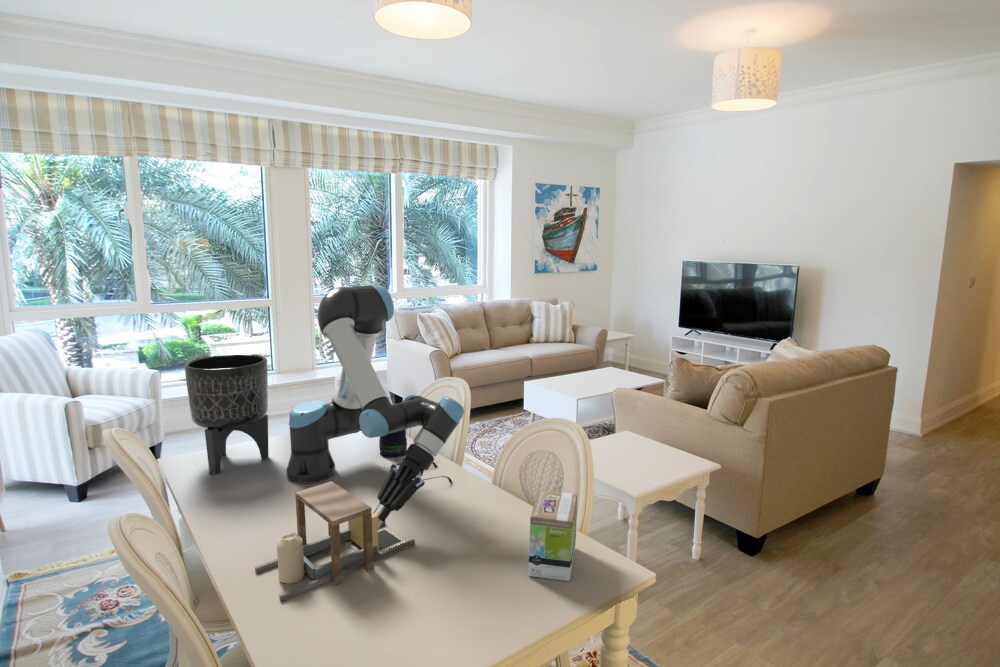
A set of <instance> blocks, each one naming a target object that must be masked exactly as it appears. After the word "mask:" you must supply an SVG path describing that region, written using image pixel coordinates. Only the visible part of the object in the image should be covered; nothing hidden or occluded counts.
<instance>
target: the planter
mask: <svg viewBox="0 0 1000 667" xmlns="http://www.w3.org/2000/svg"><path fill="white" fill-rule="evenodd" d="M184 374H185V382H186V390H187V395H188V396H187V397H188V404H189V410H190V418H191V421H192V423H194V425H196V426H198V427H201V428H205V429H204V437H205V445H206V446H205V447H206V453H207V455H206V456H207V463H208V473H209V474H210V475H218V474H220V473H222V472H221V471H222V470H221V467H222V466H221V465H222V456H225V455H227V439H228V437H229V436H230V435H231V433H233V432H235V431H236V432H237V431H238V432H242V433H245V434H246V435H247V436H250V438H252V439H253V441H254V442H255V444H256V445H257V448H258V450H259V455H260V459H261V461H262V460H268V459H269V457H270V456H269V414H268V409H269V407H268V406H269V399H268V397H269V395H268V394H269V392H268V386H269V385H268V384H269V382H268V359H267V357H265V356H263V355H259V354H249V353H248V354H247V353H246V354H245V353H236V354H234V353H232V354H231V353H230V354H222V355H221V354H219V355H212V356H211V355H210V356H206V357H200V358H195V359H193V360H192V359H191V360H189V361H188V362H185V364H184Z"/></svg>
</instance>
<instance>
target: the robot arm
mask: <svg viewBox="0 0 1000 667" xmlns="http://www.w3.org/2000/svg"><path fill="white" fill-rule="evenodd" d="M394 312H395V306H394V300H393V298H392V296H391V293H390V292H389V291H388V289H387V288H386V287H384V286H383V285H372V284H369V285H358V286H357V285H356V286H347V287H346V286H338V287H334V288H333V289H331V290H329V291H328V292H327V293H326V294H324V296H323V297H322V299H321V300H320V303H319V306H318V310H317V323H318V327H319V330H320V332H321V334H322V336H323V337H324V339H326V340H327V339H328V340H329V342H330V344H331V346H332V348H333V350H334V353H335V354H336V356H337V359H338V361H339V363H340V366H341V368H342V369H341V375H340V380H339V386H338V389H337V390H336V391H335V392H334V393H333V394H332V399H331V402H329V403H327V402H326V401H324V400H318V399H317V400H310V401H309V400H308V401H305V402H302V403H300V404H297V405H295V406H294V407H293V408H291V410H290V412H289V419H288V420H289V421H288V425H289V435H290V452H291V453H290V457H289V460H288V464H287V468H286V479H287V480H288V481H289V482H292V483H297V484H298V483H299V484H312V483H317V482H323V481H325V480H328V479H330V478H331V477H333V476H334V475H335V473H336V464H335V461H334V459H333V457H332V456H333V455H332V454H331V451H330V446H329V445H330V444H329V441H330V440H331V439H335V438H340V437H343V436H348V435H353V434H357V433H360V432H361V433H362V434H363V435H364V436H365V437H366V438H369V439H372V438H380V436H385V435H387V434H390V433H393V432H397V431H400V430H405V429H406V430H408V429H412V428H415V427H421V428H420V430H419V431H418V433H417V434H416V436H415V437H414V438H413V439H412V442H413V443H410V445H409V446H407V447H408V448H407V449H406V452H405V453H404V458H403V460H401V462H400V463H399V464H400V465H396V466H395V464H394V463H392V464H391V466H390V467H389V468H390V469H389V472H388V474H387V477H386V479H385V480H384V483H383V484H382V486H381V488H380V490H379V493H378V494H377V497H376V498H377V500H378V501H379V504H378V505H377V507H376V509H374V512H373V513H374V514H375V515H377V520H378V529H379V528H380V527H381V526H380V525H381V524H382V522H384V521H385V522H386V519H387V518H388V517H389V516H390V514H391V513H392V511H396V512H399V511H400V510H401V509H402V508H403V506H404V505H405V504H406V503H408V501H409V500H410V498H411V497H412V496H413V495H414V494H415V493H416V492H417V491H418V490H419V489H420V488H422V487H423V486H424V485H425V480H423V479H422V476H423V474H424V471H428V470H429V469H430V467H431V466H432V465H433V462H435V458H434V457H437V456H438V454H440V452H441V450H442V448H443V447H444V446H445V445H446V443H447V441H448V439H449V438H450V436H451V435H452V434H453V432H454V430H455V429H456V427H457V426H458V425H460V421H461V420H462V418H463V416H464V414H465V408H464V406H462V404H461V403H460V402H458V401H457V400H455V399H453V398H451V397H450V396H443V397H442V398H441V399H440V400H439V401H438V402H436V401H434V400H431V399H429V398H426V397H424V396H421V395H416V394H411V395H408V396H406V397H405V398H404V399H403V400H402V401H401V402H397V403H396V402H395V403H391V400H390V398H389V397H388V395H387V393H386V391H385V389H384V387H383V385H382V382H381V381H380V379H379V377H378V375H377V373H376V371H375V369H374V366H373V365H372V358H373V354H374V348H375V343H376V339H377V338H376V337H377V335H378V334H381V332H383V326H384V323H388V322H389V321H391V320H392V318H393V316H394ZM399 478H400V479H399ZM422 480H423V481H422ZM407 483H408V484H407Z"/></svg>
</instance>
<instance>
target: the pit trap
mask: <svg viewBox="0 0 1000 667" xmlns="http://www.w3.org/2000/svg"><path fill="white" fill-rule="evenodd" d="M385 529H386V530H385ZM388 531H389V532H390V533H389V532H388ZM391 531H392V530H390V529H388V528H387V527H384V528H381V529H378V551H379V553H380V552H383V551H385V550H387V549H390V547H391V548H392V547H394V546H397V545H398V544H399V543H400V542H401V541H402V542H404V541H406V540H405V539H403V538H402V537H401V536H399V535H397V534H396V533H395V532H393V531H392V533H393V534H392V533H391ZM396 536H397V537H396ZM402 542H401V543H402ZM397 543H398V544H397ZM401 543H400V544H401ZM345 544H346V545H347V546H349V547H350V548H351V549H352V550H353V551H354V552H356V551H358V550H361V549H362V548H361V547H360V546H359V545H357V544H356V543H355V542H354V541H352V540H349V541H348V542H347V541H346V543H345ZM396 544H397V545H396Z"/></svg>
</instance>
